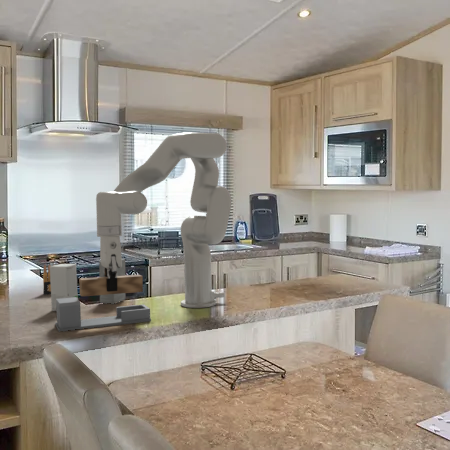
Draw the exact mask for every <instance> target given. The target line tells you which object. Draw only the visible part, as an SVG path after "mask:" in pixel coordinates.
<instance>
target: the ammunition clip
mask: <svg viewBox="0 0 450 450" xmlns="http://www.w3.org/2000/svg"><path fill="white" fill-rule="evenodd" d="M59 264H60V263H58V264H57V265H59ZM66 264H69V262H67V263H66ZM54 265H56V264H55V263H53V265H52V266H54ZM47 266H48V267H47ZM50 266H51V264H48V265H46V264H44V265H43V274H42V278H43V279H42V282H43V285H42V286H43V288H42V289H43V293H42V294H43V295H45V296H46V295H51V282H50Z"/></svg>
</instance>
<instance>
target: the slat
mask: <svg viewBox="0 0 450 450" xmlns="http://www.w3.org/2000/svg"><path fill="white" fill-rule="evenodd" d="M107 279H108V277H100V276H99V277H98V276H96V277H84V278H83V277H82V278H79V279H78V280H79V281H78V282H79V295H80V296H81V297H90V296H92V297H93V296H95V297H96V296H100V295H108V294H120V293H125V294H129V293H131V294H132V293H143V291H144V290H143V289H144V288H143V287H144V285H143V284H144V283H143V282H144V281H143V280H144V279H143V275H141V274H130V275H129V274H128V275H127V274H125V276H117V291H111V292H108V291H107Z"/></svg>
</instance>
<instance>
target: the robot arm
mask: <svg viewBox="0 0 450 450" xmlns="http://www.w3.org/2000/svg"><path fill="white" fill-rule="evenodd" d="M227 147H228V146H227V140H226V138H225V137H224V136H223V135H222V134H220V133H217V132H179V133H174V134H170V135H168V136H167V137H165V139H164V140H162V142H161V143H160V144H159V146H158V147H157V148H156V149H155V150H154V152H152V154H151V155H150V157H149V158H147V160H146V161H145V162H144V163H143V164H141V165H140V166H139V167H137V168H136V169H135V170H133V171H131V172H130V174H128V175H126V176H125V177H124V179H122V180H121V181H120V182H119V184H118V185H117V186H116V187H115V188H114V190H113V191H100V192H98V193H97V194H96V198H95V203H96V236H97V237H99V239H100V240H99V241H100V243H99V245H100V246H99V250H100V251H99V252H100V256H99V258H100V261H101V265H102V266H103V267H104V276H106V277H108V279H107V291H108V292H111V291H117V267H118V268H121V267H122V259H123V257H122V256H123V255H122V245H121V244H122V243H121V239H120V238H121V237H122V236H123V235H122V234H123V233H122V230H123V228H122V215H139V214H141V213H143V212H144V211H145V210H146V209H147V206H148V199H147V197H146V195H145V194H143V193H142V192H143V191H145V190H146V189H148V188H151V187H154V186H155V185H157V184H160V183H162V182H163V181H165V180H166V179H167V178H168V176H169V175H170V174H171V172H173V170H174V169H175V168H176V166H177V165H178V164H179V163H180V162H181V160H183V159H190V160H191V161H192V163H193V165H194V171H195V173H194V180H193V185H192V190H191V196H190V201H189V203H190V207H191V209H192V210H193V211H194V212H197V213H204V214H206V215H191V216H188V217H187V218H185V219H184V220H183V221H182V223H181V225H180V235H181V236H180V237H181V240H182V246H183V263H184V264H183V265H184V267H183V268H184V299H183V300H181V301H180V306H182V307H184V308H188V309H189V308H190V309H200V308H201V309H203V308H210V307H214V306H215V305H216V304H217V300H216V299H218V298H219V299H222V298H225V295H226V294H225V292H224V291H222V292H221V291H220V292H219V291H216V292H215V291H213V290H212V254H211V249H210V245H217V244H220V243H222V241H223V240H224V238H225V236H226V233H227V229H228V224H229V219H230V215H231V214H230V213H231V207H232V197H231V194H230V191H229V190H228V189H227V188H226V187H224V186H222V185H219V180H220V179H219V177H220V170H219V166H218V164H217V163H216V160H215V159H218V158H221V157H222V156H223V155H224V154H225V153H226V151H227Z"/></svg>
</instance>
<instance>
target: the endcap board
mask: <svg viewBox="0 0 450 450" xmlns="http://www.w3.org/2000/svg"><path fill="white" fill-rule="evenodd" d="M56 308H57V311H56V322H54V325H56V326H55V327H56V329H57V332H59V333H61V332H60V331H63V332H69V331H68V330H71V331H76V330H75V329H80V330H84V329H83V328H88V329H95V328H94V327H97V328H104V326H105V327H113V326H122V325H129V324H137V323H138V324H139V323H145V322H146V323H147V322H152V319H151V318H152V317H151V308H150V307H148V306H147V305H146V304H143V303H142V304H141V303H140V304H134V305H125V306H123V305H122V306H117V307H115V309H116V312H115V313H116V315H112V316H104V317H92V318H86V319H85V318H84V319H82V316H81V313H82V312H81V301H80V300H79V298H78V299H77V297H71V298H61V299H56Z"/></svg>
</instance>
